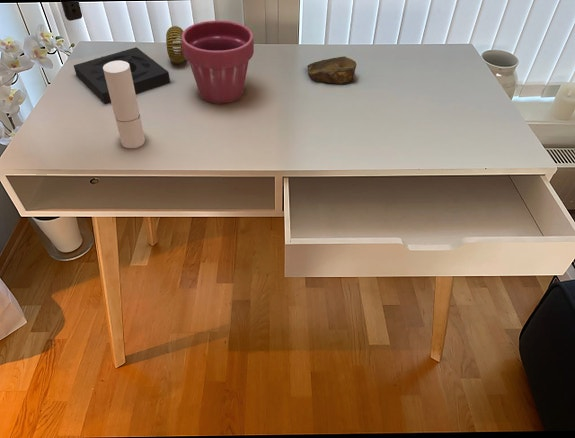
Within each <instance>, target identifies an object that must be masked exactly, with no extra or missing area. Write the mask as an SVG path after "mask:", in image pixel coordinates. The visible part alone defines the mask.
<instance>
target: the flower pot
mask: <svg viewBox="0 0 575 438" xmlns="http://www.w3.org/2000/svg"><path fill="white" fill-rule="evenodd" d="M183 31H184V32H183V33H182V39H181V40H182V49H183V55H184V57H185V61H187V62H188V63H189V66H190V69H191V71H192V75H193V77H194V81H195V84H196V86H197V89H198V92H199V96H200V97H201V98H202V99H203V100H204V101H206V102H209V103H212V104H228V103H232V102H235V101H237V100H239V99H241V97H242V96H243V94H244V88H245V83H246V79H247V72H248V67H249V61H250V60H251V59H252V58H253V55H254V52H255V49H254V47H255V44H254V34H253V32H252V30H251V29H250V28H249V27H247V26H245V24H241V23H239V22H235V21H231V20H207V21H200V22H196V23H194V24H192V25H189V26H188V27H187V28H184V29H183Z"/></svg>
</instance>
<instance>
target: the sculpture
mask: <svg viewBox="0 0 575 438" xmlns="http://www.w3.org/2000/svg"><path fill="white" fill-rule="evenodd" d="M183 32H184V29H183V28H182V27H180V26H178V25H172V26H171V27H169V28H168V29H167V31H166V33H165V34H166V35H165V44H166V52H167V55H168V58H169V59H170V61H171V62H173V63H175V64H182V63H184V62H185V61H186V59H185V57H184V55H183V49H182V33H183Z"/></svg>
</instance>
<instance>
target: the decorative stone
mask: <svg viewBox="0 0 575 438" xmlns="http://www.w3.org/2000/svg"><path fill="white" fill-rule="evenodd" d="M306 67H307V73H308V75H309V76H310V78H311V79H312V80H313V81H315V82H325V83H329V84H335V85H338V84H339V85H340V84H341V85H347V84H348V83H349V82H353V81H355V72H356V68H357V62H356V61H355V60H354V59H352V58H350V57H347V56H345V55H344V56H338V57H331V58H328V59H322V60H317V61H314V62H312V63H309V64H308V65H307V66H306Z"/></svg>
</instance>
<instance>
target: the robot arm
mask: <svg viewBox="0 0 575 438" xmlns="http://www.w3.org/2000/svg"><path fill="white" fill-rule="evenodd" d="M60 4H61V7H62V11H63V14H64V17H65V18H66V20H67V21H69V22H71V21H76V20H80V19H82V18H83V11H82V8H81V5H80V1H79V2H61V1H60Z"/></svg>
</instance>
